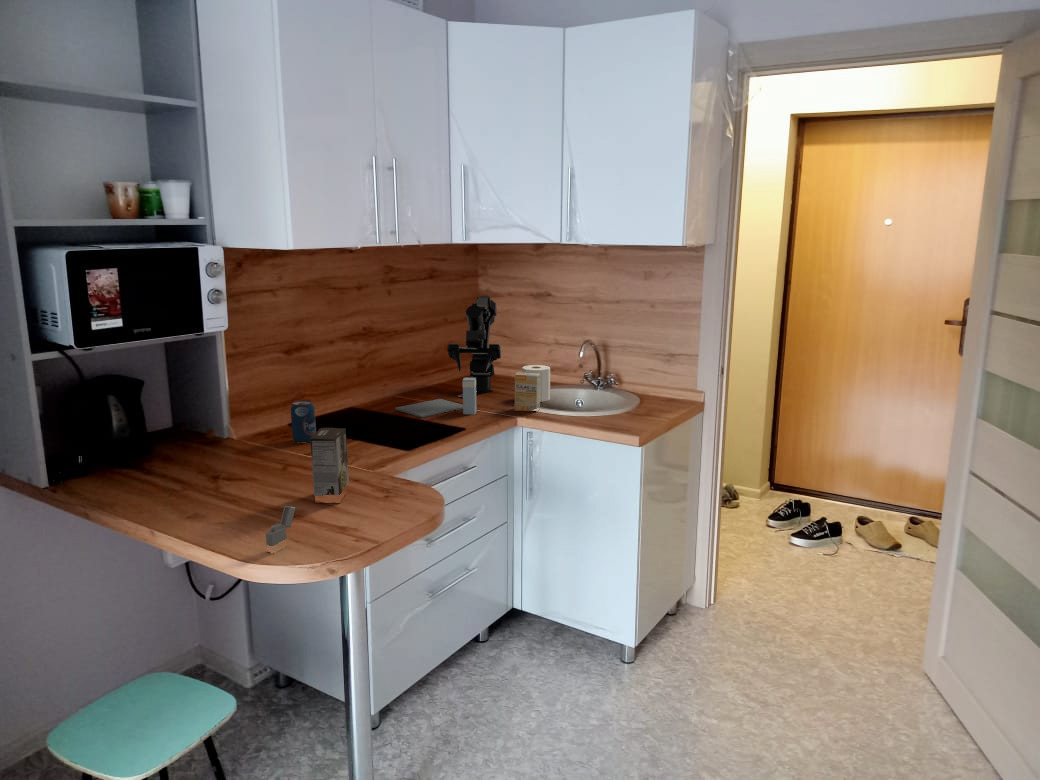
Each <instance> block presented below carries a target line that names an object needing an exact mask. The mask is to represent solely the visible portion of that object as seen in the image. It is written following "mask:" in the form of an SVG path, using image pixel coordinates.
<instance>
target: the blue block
mask: <svg viewBox="0 0 1040 780" xmlns="http://www.w3.org/2000/svg"><path fill="white" fill-rule="evenodd" d="M462 405H463V409H462V411H463V412H462V414H463V415H476V413H477V392H476V378H473V377H463V379H462Z"/></svg>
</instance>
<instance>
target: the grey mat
mask: <svg viewBox="0 0 1040 780" xmlns="http://www.w3.org/2000/svg"><path fill="white" fill-rule="evenodd" d="M394 409H395V410H397V411H399V412H402V413H406V414H409V415H412V416H415V417H419V418H422V419H423V418H427V417H433V416H437V415H441V413H442V414H445V413H444V412H446V413H450V412H449V411H451V412H455V411H454V410H456V411H460V410H463V403H462V404H461V403H457V402H453V401H449V400H446V399H442V398H437V399H433V400H428V401H422V402H417V403H412V404H407V405H402V406H397V407H395V408H394ZM436 414H437V415H436Z"/></svg>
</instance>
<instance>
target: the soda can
mask: <svg viewBox="0 0 1040 780" xmlns="http://www.w3.org/2000/svg"><path fill="white" fill-rule="evenodd" d="M315 409H316V408H315V405H314V404H313V401H312V400H307V399H306V400H305V399H304V400H302V399H301V400H296V401H293V402H292V404H291V406H290V421H291V435H292V437H291V438H292V439H293V441H294V442H295V441H296V442H310V438H311V437H312V436H313V435H314V434H315V433H316V432H317V424H316V412H315V411H316V410H315ZM296 442H295V443H296Z"/></svg>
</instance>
